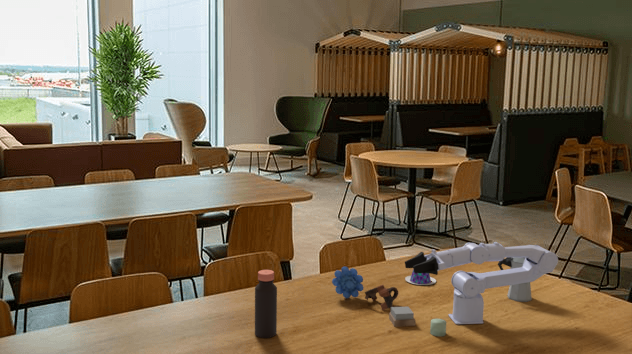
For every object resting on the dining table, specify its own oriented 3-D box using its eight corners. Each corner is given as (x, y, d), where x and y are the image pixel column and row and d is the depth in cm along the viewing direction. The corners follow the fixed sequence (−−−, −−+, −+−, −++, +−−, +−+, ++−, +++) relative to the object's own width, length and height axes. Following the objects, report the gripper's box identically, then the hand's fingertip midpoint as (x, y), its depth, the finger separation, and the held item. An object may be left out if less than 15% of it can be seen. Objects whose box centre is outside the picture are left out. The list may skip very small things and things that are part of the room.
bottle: (265, 327, 208) (265, 267, 204) (281, 333, 203) (281, 271, 200) (250, 334, 202) (250, 272, 199) (265, 340, 198) (266, 277, 195)
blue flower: (334, 303, 230) (335, 270, 228) (330, 296, 236) (331, 264, 234) (366, 301, 232) (367, 269, 230) (361, 295, 239) (362, 263, 237)
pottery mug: (376, 313, 223) (367, 291, 224) (367, 316, 231) (358, 294, 233) (406, 301, 227) (397, 278, 228) (396, 303, 235) (387, 282, 237)
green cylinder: (442, 330, 209) (443, 318, 208) (447, 336, 204) (448, 324, 203) (428, 330, 208) (428, 318, 207) (432, 336, 203) (433, 324, 203)
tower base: (409, 318, 219) (409, 311, 218) (415, 327, 212) (415, 319, 211) (388, 319, 218) (389, 312, 217) (394, 328, 211) (394, 320, 210)
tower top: (408, 312, 218) (408, 306, 217) (413, 319, 212) (413, 313, 212) (390, 312, 217) (390, 307, 217) (395, 319, 211) (395, 314, 211)
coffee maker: (534, 294, 243) (538, 247, 240) (540, 303, 234) (544, 254, 231) (493, 292, 244) (496, 245, 241) (497, 300, 236) (500, 252, 233)
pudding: (402, 284, 252) (403, 271, 251) (407, 275, 263) (408, 262, 263) (434, 288, 249) (434, 275, 248) (437, 278, 260) (438, 266, 259)
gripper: (438, 243, 219) (400, 251, 216) (456, 250, 205) (415, 259, 202) (441, 263, 220) (403, 271, 217) (459, 272, 205) (419, 281, 203)
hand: (409, 267), depth 210 cm, fingers open, 7 cm apart
